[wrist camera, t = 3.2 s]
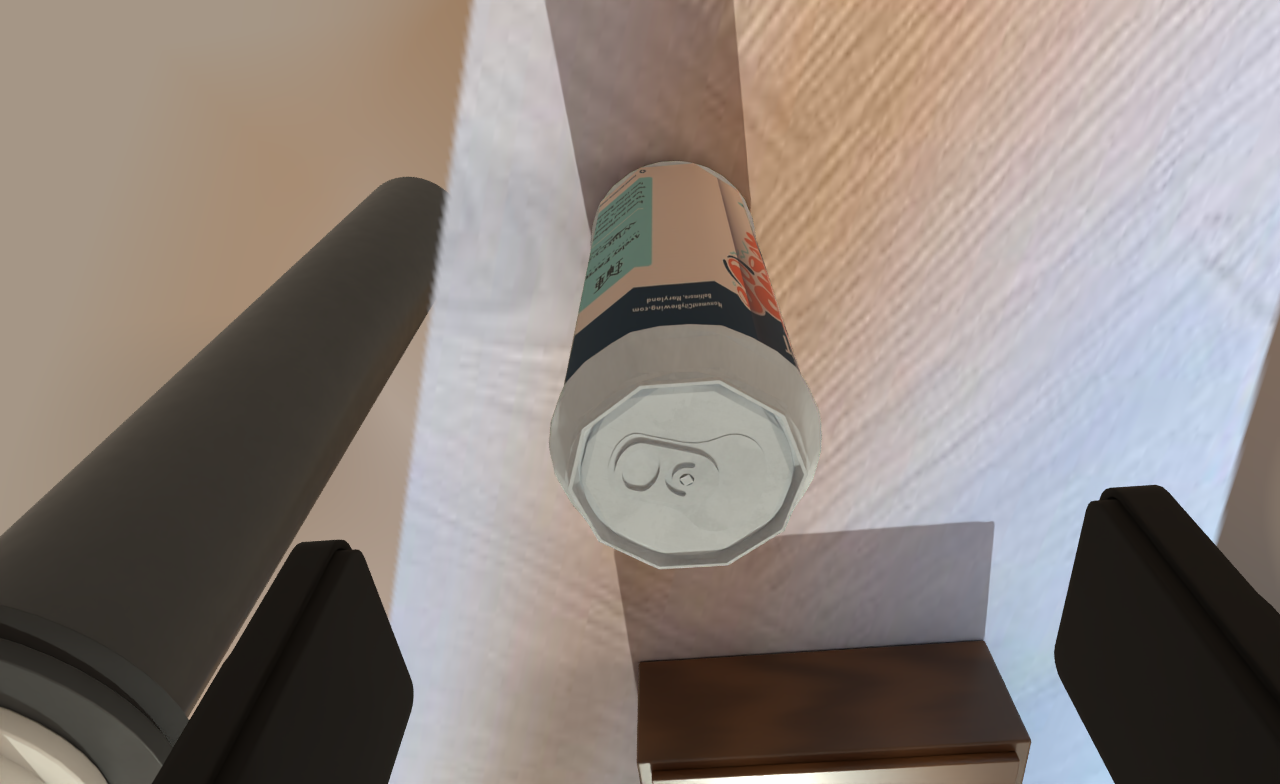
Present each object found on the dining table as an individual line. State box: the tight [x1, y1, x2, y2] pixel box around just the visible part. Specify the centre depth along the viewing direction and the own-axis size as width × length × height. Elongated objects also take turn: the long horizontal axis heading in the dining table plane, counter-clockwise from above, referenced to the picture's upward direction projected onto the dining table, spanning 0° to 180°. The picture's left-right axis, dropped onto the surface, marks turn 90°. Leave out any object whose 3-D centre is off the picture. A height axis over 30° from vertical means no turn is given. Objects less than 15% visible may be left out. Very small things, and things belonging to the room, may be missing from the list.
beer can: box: [549, 161, 822, 569], centre depth 18 cm, size 5×5×12 cm
